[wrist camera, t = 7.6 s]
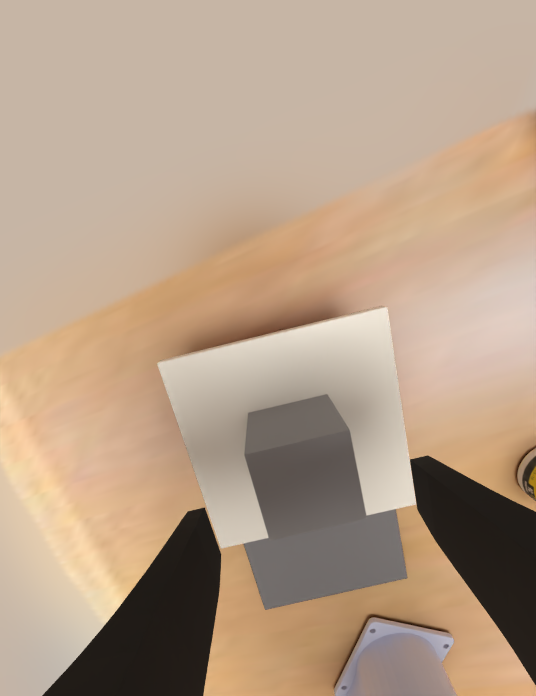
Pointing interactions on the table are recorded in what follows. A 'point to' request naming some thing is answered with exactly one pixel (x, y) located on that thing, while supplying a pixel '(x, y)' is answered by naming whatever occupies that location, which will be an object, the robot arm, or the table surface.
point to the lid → (294, 427)
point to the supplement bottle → (528, 474)
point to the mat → (328, 560)
